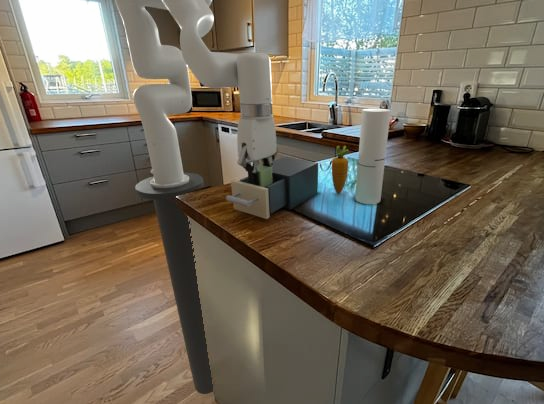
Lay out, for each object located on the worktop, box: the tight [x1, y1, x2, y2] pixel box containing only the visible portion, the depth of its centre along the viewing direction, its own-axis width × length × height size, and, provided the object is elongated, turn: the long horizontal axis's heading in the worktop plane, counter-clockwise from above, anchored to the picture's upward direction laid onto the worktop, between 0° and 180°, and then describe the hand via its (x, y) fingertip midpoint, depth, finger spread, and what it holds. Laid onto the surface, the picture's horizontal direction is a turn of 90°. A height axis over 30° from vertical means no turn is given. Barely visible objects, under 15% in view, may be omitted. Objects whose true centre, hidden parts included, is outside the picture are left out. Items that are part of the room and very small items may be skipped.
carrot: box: [331, 145, 350, 195], centre depth 87 cm, size 5×5×15 cm
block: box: [257, 164, 273, 187], centre depth 77 cm, size 4×4×4 cm
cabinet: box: [272, 156, 319, 211], centre depth 87 cm, size 15×13×10 cm
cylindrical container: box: [354, 107, 392, 205], centre depth 81 cm, size 7×7×25 cm
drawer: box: [225, 175, 288, 220], centre depth 78 cm, size 18×11×8 cm, turn 146°
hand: (260, 183), depth 77 cm, fingers closed on block, 4 cm apart
